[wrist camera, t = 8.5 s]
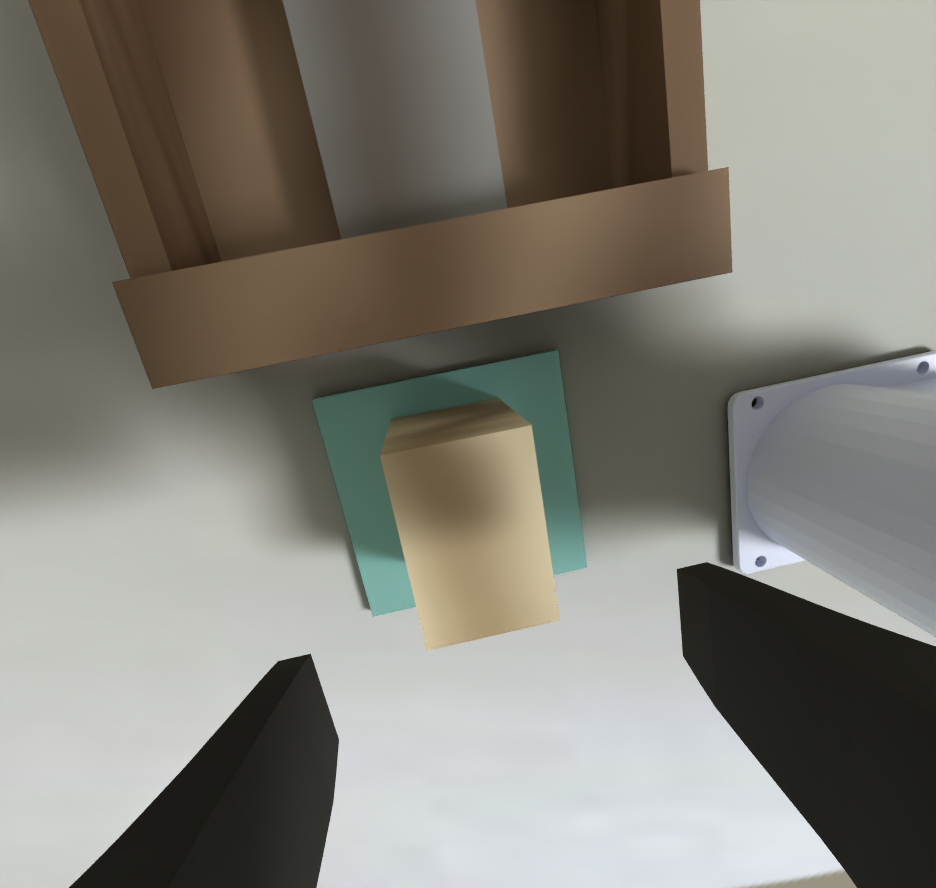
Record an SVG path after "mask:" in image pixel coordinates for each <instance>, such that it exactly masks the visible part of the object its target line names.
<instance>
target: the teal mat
mask: <svg viewBox="0 0 936 888" xmlns="http://www.w3.org/2000/svg"><path fill="white" fill-rule="evenodd" d="M495 398H499V399H501V400H502V401H503V402H504V403H505V404H507V405H508V406H509V407H510V408H511V409H513V410H514V411H515V412H516V413H517V414H519V415H520V416H521V417H522V418H523V419H525V420H526V421H527V422H528V423H529V424H531V425H532V431H533V438H534V445H535V452H536V459H537V466H538V472H539V479H540V486H541V493H542V500H543V507H544V514H545V521H546V528H547V535H548V542H549V548H550V555H551V562H552V569H553V575H556V574H560V573H564V572H569V571H573V570H577V569H582V568H586V567H587V563H586V556H585V548H584V541H583V533H582V525H581V518H580V510H579V503H578V495H577V488H576V480H575V473H574V465H573V457H572V450H571V442H570V435H569V427H568V420H567V412H566V405H565V397H564V390H563V382H562V374H561V367H560V359H559V352H558V350H551V351H546V352H541V353H536V354H531V355H526V356H521V357H516V358H511V359H506V360H502V361H497V362H492V363H487V364H482V365H477V366H472V367H467V368H462V369H457V370H452V371H447V372H442V373H437V374H432V375H427V376H422V377H417V378H412V379H407V380H402V381H397V382H392V383H387V384H382V385H377V386H372V387H367V388H362V389H357V390H352V391H347V392H342V393H337V394H332V395H327V396H322V397H317V398H314V399H312V403H313V406H314V410H315V413H316V417H317V421H318V424H319V428H320V431H321V435H322V438H323V442H324V445H325V449H326V452H327V456H328V460H329V463H330V467H331V470H332V474H333V477H334V481H335V484H336V488H337V491H338V495H339V499H340V502H341V506H342V509H343V513H344V516H345V520H346V523H347V527H348V530H349V534H350V538H351V541H352V545H353V548H354V552H355V555H356V559H357V562H358V566H359V570H360V573H361V577H362V580H363V584H364V587H365V591H366V594H367V598H368V601H369V605H370V609H371V612H372V616H378V615H382V614H386V613H391V612H395V611H399V610H404V609H408V608H412V607H416V604H415V600H414V596H413V591H412V587H411V583H410V579H409V575H408V571H407V566H406V562H405V558H404V554H403V550H402V545H401V541H400V537H399V533H398V529H397V525H396V520H395V516H394V512H393V508H392V504H391V500H390V495H389V491H388V487H387V483H386V479H385V475H384V470H383V466H382V462H381V458H380V454H381V451H382V447H383V444H384V441H385V437H386V434H387V431H388V427H389V424H390V420H391V419H393V418H398V417H403V416H408V415H413V414H418V413H423V412H428V411H434V410H439V409H444V408H449V407H454V406H459V405H464V404H469V403H474V402H479V401H484V400H490V399H495Z"/></svg>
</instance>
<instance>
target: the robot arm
mask: <svg viewBox="0 0 936 888" xmlns="http://www.w3.org/2000/svg"><path fill="white" fill-rule="evenodd" d="M917 367H918V369H917ZM755 397H756V399H757V402H756V404H755V406H754V407H752V405H751V403H752V400H753V399H754V398H755ZM728 432H729V459H730V487H731V514H732V542H733V563H734V567H735V568H736V569H737V570H739V571H740V572H741V573H744V574H750V573H754V572H758V571H762V570H767V569H771V568H775V567H779V566H784V565H788V564H792V563H796V562H801V561H805V560H806V561H808V562H810V563H811V564H813V565H815V566H816V567H818V568H820V569H822V570H823V571H825V572H827V573H828V574H830V575H832V576H833V577H835V578H837V579H838V580H840V581H842V582H844V583H845V584H847V585H849V586H850V587H852V588H854V589H855V590H857V591H859V592H860V593H862V594H864V595H866V596H867V597H869V598H871V599H872V600H874V601H876V602H877V603H879V604H881V605H882V606H884V607H886V608H887V609H889V610H891V611H893V612H894V613H896V614H898V615H899V616H901V617H903V618H904V619H906V620H908V621H909V622H911V623H913V624H915V625H916V626H918V627H920V628H921V629H923V630H925V631H926V632H928V633H930V634H931V635H933V636H935V637H936V350H935V351H930V352H926V353H921V354H916V355H911V356H907V357H902V358H897V359H892V360H888V361H883V362H878V363H874V364H869V365H864V366H859V367H855V368H850V369H845V370H840V371H836V372H831V373H826V374H822V375H817V376H812V377H807V378H803V379H798V380H793V381H789V382H784V383H779V384H774V385H770V386H765V387H760V388H755V389H751V390H746V391H741V392H738V393H735V394H734V395H733V396H732V397H731V398H730V400H729V402H728ZM759 556H760V557H759ZM758 557H759V559H758V560H757V561H756V562H755V560H756V559H757V558H758ZM677 578H678V592H679V606H680V620H681V634H682V648H683V657H684V658H685V660H686V661H687V663H688V665H689V666H690V668H691V670H692V671H693V673H694V674H695V676H696V678H697V679H698V681H699V683H700V684H701V686H702V687H703V689H704V690H705V692H706V693H707V695H708V696H709V698H710V699H711V701H712V703H713V704H714V706H715V707H716V708H717V710H718V711H719V712H720V713H721V715H722V716H723V717H724V719H725V720H726V721H727V722H728V724H729V725H730V726H731V727H732V729H733V730H734V731H735V732H736V734H737V735H738V736H739V737H740V739H741V740H742V741H743V742H744V744H745V745H746V746H747V747H748V749H749V750H750V751H751V752H752V754H753V755H754V756H755V757H756V759H757V760H758V761H759V762H760V764H761V765H762V766H763V767H764V769H765V770H766V771H767V772H768V773H769V775H770V776H771V777H772V778H773V780H774V781H775V782H776V783H777V785H778V786H779V787H780V788H781V790H782V791H783V792H784V793H785V795H786V796H787V797H788V798H789V800H790V801H791V802H792V803H793V804H794V806H795V807H796V808H797V809H798V811H799V812H800V813H801V814H802V816H803V817H804V818H805V819H806V821H807V822H808V823H809V824H810V826H811V827H812V828H813V829H814V830H815V832H816V833H817V834H818V835H819V837H820V838H821V839H822V841H823V842H824V843H825V845H826V846H827V847H828V849H829V850H830V851H831V852H832V854H833V855H834V856H835V858H836V859H837V860H838V862H839V863H840V864H841V866H842V867H843V868H844V870H845V871H846V872H847V874H848V875H849V877H850V878H851V879H852V881H853V882H854V884H855V885H856V887H857V888H936V646H933V645H930V644H926V643H924V642H921V641H918V640H915V639H912V638H909V637H906V636H903V635H900V634H897V633H894V632H892V631H889V630H886V629H883V628H880V627H877V626H874V625H871V624H869V623H866V622H863V621H860V620H858V619H855V618H852V617H849V616H847V615H844V614H841V613H839V612H836V611H833V610H831V609H828V608H825V607H823V606H820V605H818V604H815V603H812V602H810V601H807V600H805V599H802V598H799V597H797V596H794V595H792V594H789V593H787V592H784V591H782V590H779V589H777V588H774V587H772V586H769V585H766V584H764V583H761V582H759V581H756V580H754V579H751V578H749V577H746V576H743V575H741V574H738V573H736V572H733V571H730V570H728V569H725V568H722V567H719V566H716V565H713V564H710V563H707V562H706V563H702V564H697V565H693V566H689V567H684V568H680V569H677ZM338 744H339V738H338V735H337V732H336V729H335V726H334V723H333V720H332V717H331V714H330V711H329V708H328V705H327V702H326V699H325V696H324V693H323V690H322V687H321V684H320V681H319V678H318V675H317V672H316V669H315V666H314V663H313V660H312V657H311V654H308V655H303V656H299V657H295V658H290V659H286V660H282V661H278V662H277V663H276V664H275V665H274V666H273V667H272V668H271V669H270V670H269V672H268V673H267V674H266V675H265V676H264V677H263V678H262V679H261V680H260V682H259V683H258V684H257V685H256V686H255V687H254V688H253V690H252V691H251V692H250V693H249V694H248V695H247V697H246V698H245V699H244V700H243V701H242V702H241V704H240V705H239V706H238V707H237V708H236V709H235V711H234V712H233V713H232V714H231V715H230V716H229V717H228V719H227V720H226V721H225V722H224V723H223V724H222V725H221V727H220V728H219V729H218V730H217V731H216V732H215V733H214V735H213V736H212V737H211V738H210V739H209V740H208V741H207V743H206V744H205V745H204V746H203V747H202V748H201V749H200V751H199V752H198V753H197V754H196V755H195V756H194V757H193V759H192V760H191V761H190V762H189V763H188V764H187V765H186V766H185V768H184V769H183V770H182V771H181V772H180V773H179V774H178V775H177V776H176V777H175V778H174V779H173V780H172V782H171V783H170V784H169V785H168V786H167V787H166V788H165V789H164V790H163V791H162V792H161V793H160V794H159V795H158V797H157V798H156V799H155V800H154V801H153V802H152V803H151V804H150V805H149V806H148V807H147V808H146V809H145V810H144V812H143V813H142V814H141V815H140V816H139V817H138V818H137V819H136V820H135V821H134V822H133V823H132V824H131V825H130V827H129V828H128V829H127V830H126V831H125V832H124V833H123V834H122V835H121V836H120V837H119V838H118V839H117V840H116V841H115V842H114V843H113V844H112V845H111V846H110V847H109V848H108V849H107V850H106V852H105V853H104V854H103V855H102V856H101V857H100V858H99V859H98V860H97V861H96V862H95V863H94V864H93V865H92V866H91V867H90V868H89V869H88V870H87V871H86V872H85V873H84V874H83V875H82V876H81V877H80V878H79V879H78V880H77V881H75V882H74V883H73V884H72V885H71V886H70V887H69V888H316V887H317V882H318V877H319V872H320V867H321V862H322V857H323V852H324V847H325V842H326V837H327V832H328V827H329V822H330V816H331V811H332V806H333V799H334V789H335V779H336V769H337V756H338Z"/></svg>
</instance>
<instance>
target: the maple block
mask: <svg viewBox="0 0 936 888" xmlns="http://www.w3.org/2000/svg"><path fill="white" fill-rule="evenodd" d="M380 458H381V462H382V466H383V470H384V475H385V479H386V483H387V487H388V491H389V495H390V500H391V504H392V508H393V512H394V516H395V520H396V525H397V529H398V533H399V537H400V541H401V545H402V550H403V554H404V558H405V562H406V566H407V571H408V575H409V579H410V583H411V587H412V591H413V596H414V600H415V604H416V608H417V612H418V616H419V621H420V625H421V629H422V633H423V637H424V641H425V646H426V650H427V651H428V650H432V649H437V648H441V647H445V646H450V645H454V644H458V643H463V642H467V641H472V640H476V639H480V638H485V637H489V636H493V635H498V634H502V633H507V632H511V631H515V630H520V629H524V628H528V627H533V626H537V625H542V624H546V623H550V622H555V621H559V620H560V618H559V611H558V604H557V597H556V590H555V583H554V576H553V569H552V562H551V555H550V548H549V542H548V535H547V528H546V521H545V514H544V507H543V500H542V493H541V486H540V479H539V472H538V466H537V459H536V452H535V445H534V438H533V431H532V425H531V424H529V423H528V422H527V421H526V420H525V419H523V418H522V417H521V416H520V415H519V414H517V413H516V412H515V411H514V410H513V409H511V408H510V407H509V406H508V405H507V404H505V403H504V402H503V401H502V400H501V399H499V398H495V399H490V400H484V401H479V402H474V403H469V404H464V405H459V406H454V407H449V408H444V409H439V410H434V411H428V412H423V413H418V414H413V415H408V416H403V417H398V418H393V419H391V420H390V424H389V427H388V431H387V434H386V437H385V441H384V444H383V447H382V451H381V454H380Z"/></svg>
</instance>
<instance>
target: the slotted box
mask: <svg viewBox="0 0 936 888" xmlns="http://www.w3.org/2000/svg"><path fill="white" fill-rule="evenodd" d="M29 3H30V6H31V8H32V11H33V14H34V17H35V19H36V22H37V25H38V28H39V30H40V33H41V36H42V38H43V41H44V44H45V47H46V49H47V52H48V55H49V57H50V60H51V63H52V66H53V68H54V71H55V74H56V77H57V79H58V82H59V85H60V87H61V90H62V93H63V96H64V98H65V101H66V104H67V106H68V109H69V112H70V115H71V117H72V120H73V123H74V126H75V128H76V131H77V134H78V136H79V139H80V142H81V145H82V147H83V150H84V153H85V156H86V158H87V161H88V164H89V166H90V169H91V172H92V175H93V177H94V180H95V183H96V185H97V188H98V191H99V194H100V196H101V199H102V202H103V205H104V207H105V210H106V213H107V215H108V218H109V221H110V224H111V226H112V229H113V232H114V234H115V237H116V240H117V243H118V245H119V248H120V251H121V254H122V256H123V259H124V262H125V264H126V267H127V270H128V273H129V275H130V278H131V279H127V280H121V281H116V282H112V283H113V286H114V288H115V291H116V294H117V296H118V299H119V302H120V304H121V307H122V310H123V312H124V315H125V318H126V320H127V323H128V325H129V328H130V331H131V333H132V336H133V339H134V341H135V344H136V347H137V349H138V352H139V355H140V357H141V360H142V362H143V365H144V368H145V370H146V373H147V376H148V378H149V381H150V384H151V386H152V389H154V388H159V387H164V386H169V385H174V384H179V383H184V382H189V381H194V380H199V379H204V378H209V377H214V376H219V375H224V374H229V373H234V372H239V371H244V370H249V369H254V368H259V367H264V366H269V365H274V364H279V363H284V362H289V361H294V360H298V359H303V358H308V357H313V356H318V355H323V354H328V353H333V352H338V351H343V350H348V349H353V348H358V347H363V346H368V345H373V344H378V343H383V342H388V341H393V340H398V339H403V338H408V337H413V336H418V335H423V334H428V333H433V332H438V331H443V330H448V329H453V328H458V327H463V326H468V325H472V324H477V323H482V322H487V321H492V320H497V319H502V318H507V317H512V316H517V315H522V314H527V313H532V312H537V311H542V310H547V309H552V308H557V307H562V306H567V305H572V304H577V303H582V302H587V301H592V300H597V299H602V298H607V297H612V296H617V295H622V294H627V293H632V292H637V291H642V290H647V289H651V288H656V287H661V286H666V285H671V284H676V283H681V282H686V281H691V280H696V279H701V278H706V277H711V276H716V275H721V274H726V273H731V272H732V251H731V225H730V198H729V171H728V167H726V168H721V169H716V170H710V171H708V161H707V140H706V119H705V98H704V78H703V57H702V36H701V15H700V0H29Z"/></svg>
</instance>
